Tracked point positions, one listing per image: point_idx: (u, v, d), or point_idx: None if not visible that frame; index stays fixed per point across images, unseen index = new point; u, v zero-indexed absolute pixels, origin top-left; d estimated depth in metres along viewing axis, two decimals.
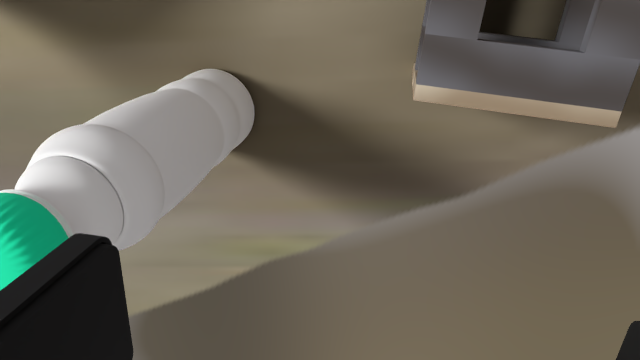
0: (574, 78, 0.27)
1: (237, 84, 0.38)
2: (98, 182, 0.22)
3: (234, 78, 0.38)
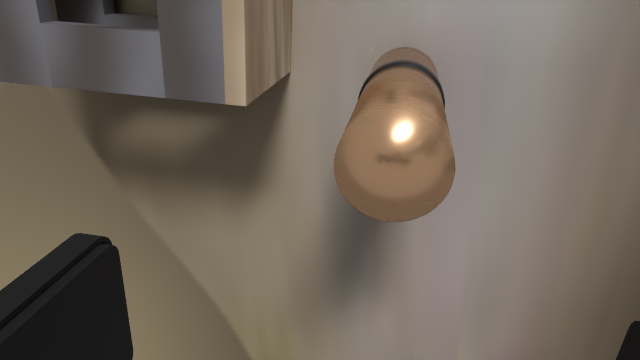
0: (11, 18, 0.22)
1: None
2: None
3: None
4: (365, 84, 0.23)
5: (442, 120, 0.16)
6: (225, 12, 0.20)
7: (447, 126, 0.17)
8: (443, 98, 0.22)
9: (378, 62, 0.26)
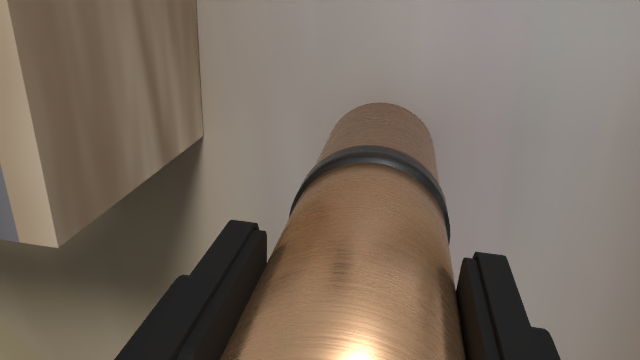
0: None
1: None
2: None
3: None
4: (301, 193, 0.12)
5: None
6: None
7: None
8: (447, 222, 0.12)
9: (335, 132, 0.16)
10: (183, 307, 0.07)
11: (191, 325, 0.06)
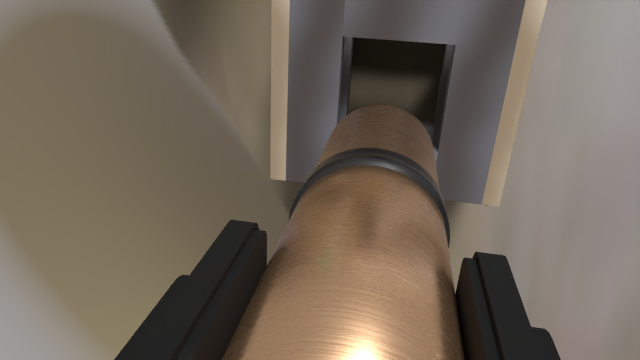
0: (311, 136, 0.28)
1: None
2: None
3: None
4: (300, 195, 0.12)
5: None
6: (498, 140, 0.26)
7: None
8: (447, 225, 0.12)
9: (335, 133, 0.16)
10: (183, 307, 0.07)
11: (191, 325, 0.06)
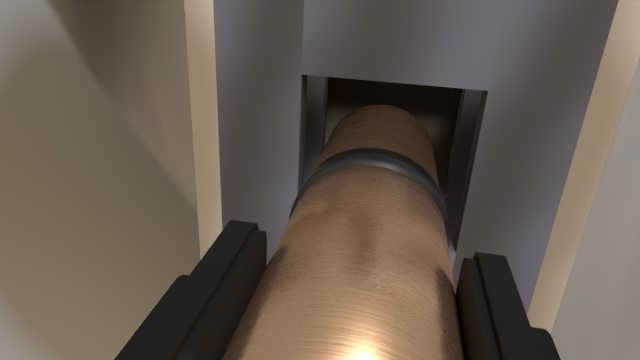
0: (259, 223, 0.18)
1: None
2: None
3: None
4: (300, 195, 0.12)
5: None
6: (554, 240, 0.16)
7: None
8: (447, 225, 0.12)
9: (335, 134, 0.16)
10: (183, 307, 0.07)
11: (191, 325, 0.06)
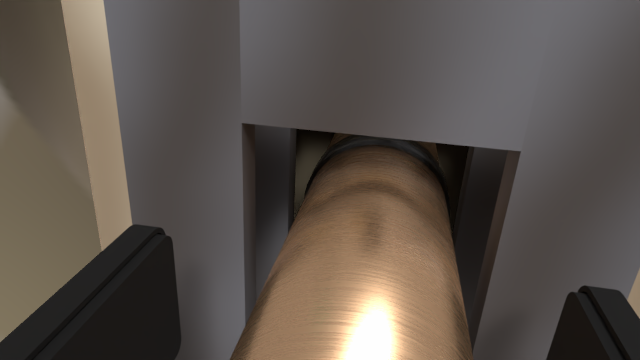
0: (195, 320, 0.13)
1: None
2: None
3: None
4: (315, 173, 0.13)
5: (456, 327, 0.07)
6: None
7: (464, 317, 0.08)
8: (447, 199, 0.13)
9: None
10: (45, 318, 0.06)
11: (47, 337, 0.06)
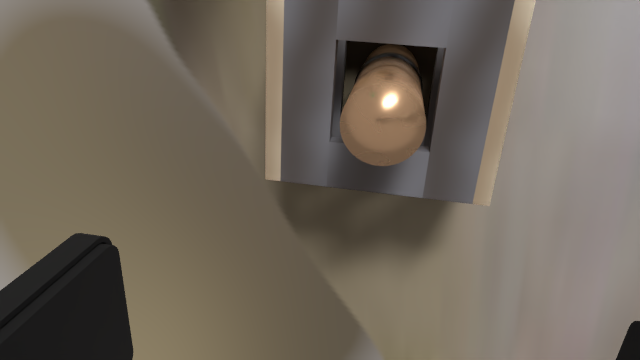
0: (306, 137, 0.28)
1: None
2: None
3: None
4: (360, 71, 0.29)
5: (417, 92, 0.23)
6: (488, 141, 0.27)
7: (422, 98, 0.24)
8: (421, 82, 0.28)
9: (370, 55, 0.32)
10: None
11: None
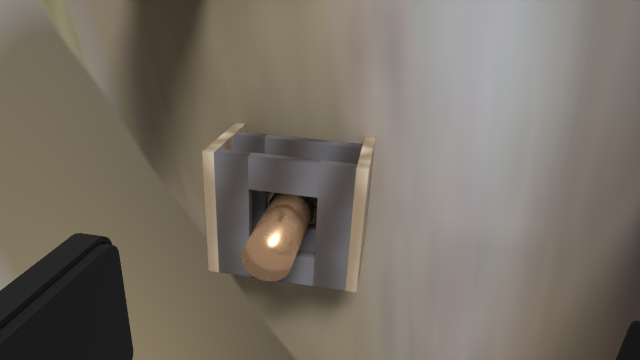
0: (233, 245, 0.42)
1: None
2: None
3: None
4: (271, 200, 0.43)
5: (291, 235, 0.37)
6: (350, 253, 0.41)
7: (297, 235, 0.37)
8: (311, 208, 0.42)
9: None
10: None
11: None
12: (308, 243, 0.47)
